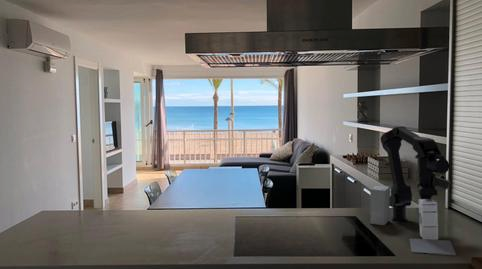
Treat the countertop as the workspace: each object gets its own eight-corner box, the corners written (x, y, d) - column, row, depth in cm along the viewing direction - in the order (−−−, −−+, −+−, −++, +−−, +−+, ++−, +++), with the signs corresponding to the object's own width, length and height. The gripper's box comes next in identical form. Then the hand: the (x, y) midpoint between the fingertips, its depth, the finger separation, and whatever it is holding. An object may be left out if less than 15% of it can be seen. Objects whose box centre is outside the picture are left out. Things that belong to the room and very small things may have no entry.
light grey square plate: (409, 239, 160) (409, 238, 160) (450, 241, 155) (450, 240, 155) (411, 252, 146) (411, 251, 146) (456, 255, 141) (456, 254, 141)
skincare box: (375, 219, 190) (374, 184, 189) (391, 221, 185) (390, 185, 184) (369, 223, 183) (368, 188, 182) (385, 226, 179) (384, 189, 178)
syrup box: (438, 239, 158) (438, 202, 157) (422, 239, 159) (421, 202, 158) (434, 235, 163) (434, 198, 162) (418, 235, 164) (418, 198, 164)
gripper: (451, 173, 156) (452, 215, 157) (445, 167, 173) (445, 204, 174) (419, 173, 160) (420, 214, 160) (416, 167, 177) (417, 203, 178)
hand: (427, 208), depth 168 cm, fingers closed
